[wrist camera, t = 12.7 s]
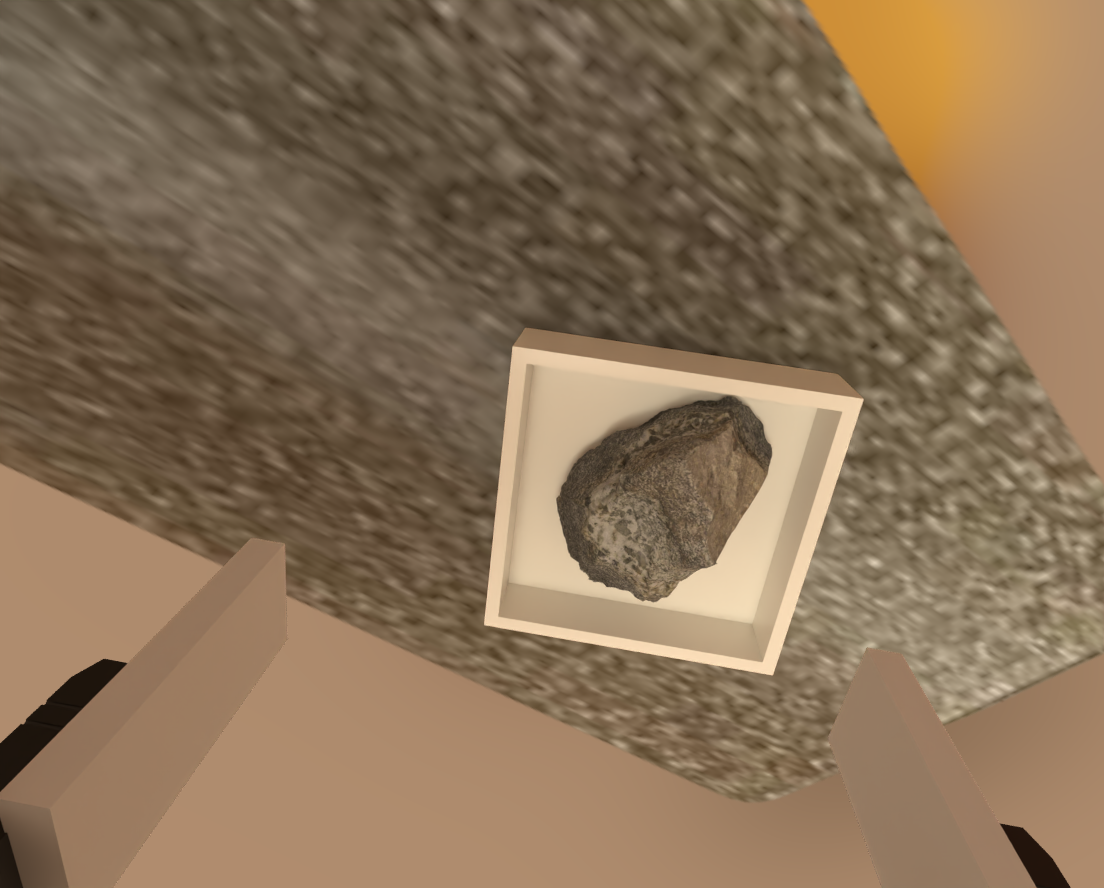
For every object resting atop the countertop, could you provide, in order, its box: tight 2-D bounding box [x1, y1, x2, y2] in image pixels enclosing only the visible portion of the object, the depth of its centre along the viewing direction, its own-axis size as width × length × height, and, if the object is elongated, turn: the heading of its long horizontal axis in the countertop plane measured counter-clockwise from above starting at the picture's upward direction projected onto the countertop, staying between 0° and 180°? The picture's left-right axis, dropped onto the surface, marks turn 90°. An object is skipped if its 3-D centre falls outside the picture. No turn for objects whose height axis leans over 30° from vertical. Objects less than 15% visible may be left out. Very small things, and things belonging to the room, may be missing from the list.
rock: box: [556, 396, 772, 603], centre depth 36 cm, size 13×9×6 cm, turn 145°
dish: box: [484, 327, 864, 675], centre depth 38 cm, size 18×18×4 cm
